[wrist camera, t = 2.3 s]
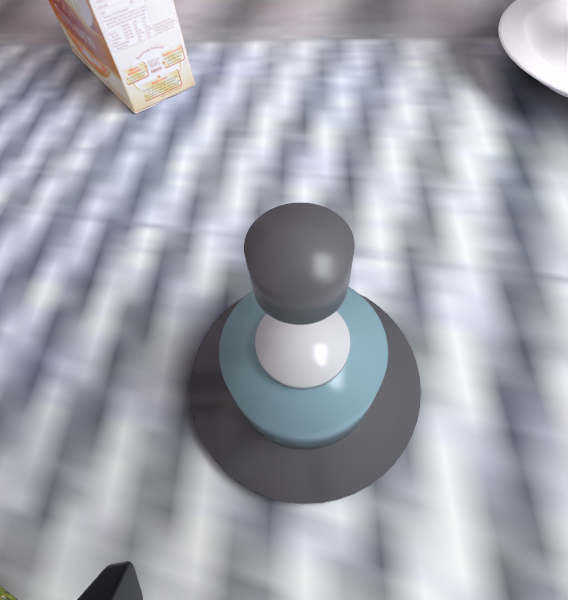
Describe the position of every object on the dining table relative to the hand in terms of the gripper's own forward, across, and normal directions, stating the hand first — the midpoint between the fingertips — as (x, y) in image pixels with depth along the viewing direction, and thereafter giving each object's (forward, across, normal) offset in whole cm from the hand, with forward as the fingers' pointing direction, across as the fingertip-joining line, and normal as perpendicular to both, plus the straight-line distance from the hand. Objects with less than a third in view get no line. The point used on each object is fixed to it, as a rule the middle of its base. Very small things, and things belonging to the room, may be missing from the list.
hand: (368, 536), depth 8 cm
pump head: (+8, 0, -3) cm, 9 cm away
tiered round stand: (+15, 0, +4) cm, 16 cm away
